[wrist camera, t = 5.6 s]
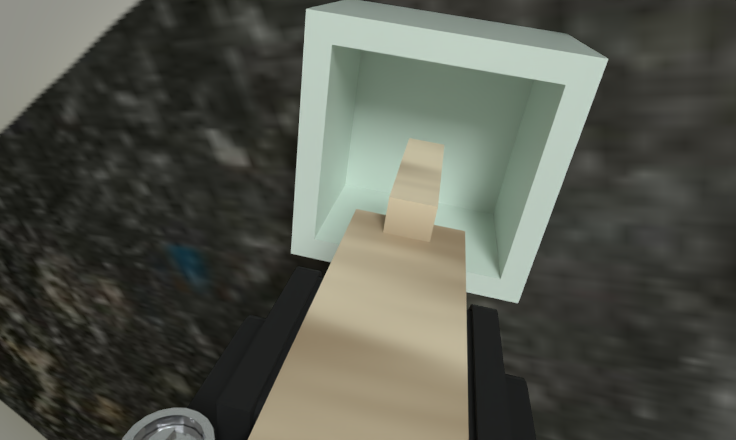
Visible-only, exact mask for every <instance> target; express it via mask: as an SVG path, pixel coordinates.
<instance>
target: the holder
mask: <svg viewBox="0 0 736 440" xmlns="http://www.w3.org/2000/svg"><path fill="white" fill-rule="evenodd" d="M607 61H608V58H606V57H604V56H603V55H601V54H599V53H598V52H596V51H594V50H593V49H591V48H589V47H588V46H586V45H585V44H583V43H581V42H580V41H578V40H576V39H575V38H573V37H571V36H570V35H568V34H565V33H559V32H553V31H546V30H540V29H534V28H528V27H522V26H516V25H509V24H503V23H497V22H491V21H485V20H479V19H472V18H466V17H460V16H454V15H448V14H442V13H435V12H429V11H423V10H417V9H411V8H405V7H398V6H392V5H386V4H380V3H374V2H368V1H361V0H343V1H338V2H334V3H330V4H325V5H321V6H316V7H312V8H308V9H306V21H305V36H304V52H303V68H302V84H301V100H300V116H299V132H298V148H297V164H296V180H295V196H294V211H293V227H292V243H291V254H295V255H300V256H304V257H309V258H313V259H318V260H323V261H327V262H331V261H332V259H333V257H334V255H335V253H336V251H337V249H338V246H339V244H340V242H341V240H342V238H343V236H344V234H345V232H346V229H347V227H348V225H349V223H350V221H351V219H352V217H353V215H354V212H355V210H356V209H360V210H364V211H369V212H374V213H379V214H384V215H386V212H387V207H388V201H389V196H390V193H391V190H392V187H393V184H394V181H395V178H396V176H397V173H398V170H399V167H400V164H401V161H402V158H403V155H404V152H405V149H406V146H407V143H408V140H409V138H412V139H417V140H422V141H427V142H433V143H438V144H443V145H444V154H443V163H442V173H441V183H440V192H439V202H438V209H437V213H436V218H435V222H434V225H438V226H443V227H447V228H452V229H457V230H462V231H465V251H466V292H469V293H473V294H478V295H482V296H487V297H492V298H496V299H501V300H505V301H510V302H514V303H518V302H519V299H520V296H521V294H522V291H523V288H524V286H525V283H526V280H527V277H528V275H529V272H530V269H531V267H532V264H533V261H534V258H535V256H536V253H537V250H538V248H539V245H540V242H541V240H542V237H543V234H544V231H545V229H546V226H547V223H548V221H549V218H550V215H551V213H552V210H553V207H554V204H555V202H556V199H557V196H558V194H559V191H560V188H561V185H562V183H563V180H564V177H565V175H566V172H567V169H568V167H569V164H570V161H571V158H572V156H573V153H574V150H575V148H576V145H577V142H578V139H579V137H580V134H581V131H582V129H583V126H584V123H585V121H586V118H587V115H588V112H589V110H590V107H591V104H592V102H593V99H594V96H595V94H596V91H597V88H598V85H599V83H600V80H601V77H602V75H603V72H604V69H605V66H606V64H607Z"/></svg>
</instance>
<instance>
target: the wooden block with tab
mask: <svg viewBox="0 0 736 440" xmlns="http://www.w3.org/2000/svg"><path fill="white" fill-rule="evenodd" d="M443 154H444V145H443V144H438V143H433V142H427V141H422V140H417V139H412V138H409V140H408V143H407V146H406V149H405V152H404V155H403V158H402V161H401V164H400V167H399V170H398V173H397V176H396V178H395V181H394V184H393V187H392V190H391V193H390V196H389V201H388V207H387V212H386V215H384V214H379V213H374V212H369V211H364V210H360V209H356V210H355V212H354V215H353V217H352V219H351V221H350V223H349V225H348V227H347V229H346V232H345V234H344V236H343V238H342V240H341V242H340V244H339V246H338V249H337V251H336V253H335V255H334V257H333V259H332V261H331V263H330V266H329V268H328V270H327V272H326V274H325V276H324V278H323V280H322V283H321V285H320V287H319V289H318V291H317V293H316V295H315V298H314V300H313V302H312V304H311V306H310V308H309V310H308V312H307V315H306V317H305V319H304V321H303V323H302V325H301V327H300V329H299V332H298V334H297V336H296V338H295V340H294V342H293V344H292V346H291V349H290V351H289V353H288V355H287V357H286V359H285V361H284V363H283V366H282V368H281V370H280V372H279V374H278V376H277V378H276V381H275V383H274V385H273V387H272V389H271V391H270V393H269V395H268V398H267V400H266V402H265V404H264V406H263V408H262V410H261V412H260V415H259V417H258V419H257V421H256V423H255V425H254V427H253V429H252V432H251V434H250V436H249V438H248V440H469V429H468V370H467V311H466V251H465V231H462V230H457V229H452V228H447V227H443V226H438V225H434V222H435V218H436V213H437V209H438V202H439V192H440V183H441V173H442V163H443Z"/></svg>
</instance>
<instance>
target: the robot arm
mask: <svg viewBox="0 0 736 440" xmlns="http://www.w3.org/2000/svg"><path fill="white" fill-rule="evenodd" d="M322 280H323V278H322V272H321V271H318V270H313V269H309V268H304V267H300V266H298V267H297V268H296V269H295V271H294V273H293V274H292V276H291V278H290V279H289V281H288V283H287V284H286V286H285V288H284V290H283V291H282V293H281V295H280V296H279V298H278V300H277V301H276V303H275V305H274V306H273V308H272V310H271V312H270V313H269V315H268V317H267V318H261V317H257V316H253V315H250V316H248V317H247V318H246V319H245V320H244V322H243V323H242V325H241V326H240V328H239V329H238V331H237V332H236V334H235V335H234V337H233V338H232V340H231V342H230V343H229V345H228V346H227V348H226V349H225V351H224V352H223V354H222V355H221V357H220V358H219V360H218V361H217V363H216V364H215V366H214V368H213V369H212V371H211V372H210V374H209V375H208V377H207V378H206V380H205V381H204V383H203V384H202V386H201V387H200V389H199V391H198V392H197V394H196V395H195V397H194V398H193V400H192V401H191V403H190V404H189V406H188V407H187V408H169V409H164V410H159V411H157V412H155V413H152V414H150V415H148V416H146V417H144V418H143V419H141V420H140V421H139V422H137V423H136V424H135V425H133V426H132V427H131V429H130V430H129V431H128V432H127V433H126V435H125V436H124V437H123V439H122V440H248V438H249V436H250V434H251V432H252V429H253V427H254V425H255V423H256V421H257V419H258V417H259V415H260V412H261V410H262V408H263V406H264V404H265V402H266V400H267V398H268V395H269V393H270V391H271V389H272V387H273V385H274V383H275V381H276V378H277V376H278V374H279V372H280V370H281V368H282V366H283V363H284V361H285V359H286V357H287V355H288V353H289V351H290V349H291V346H292V344H293V342H294V340H295V338H296V336H297V334H298V332H299V329H300V327H301V325H302V323H303V321H304V319H305V317H306V315H307V312H308V310H309V308H310V306H311V304H312V302H313V300H314V298H315V295H316V293H317V291H318V289H319V287H320V285H321V283H322ZM466 311H467V370H468V429H469V440H536V435H535V429H534V423H533V417H532V411H531V406H530V400H529V394H528V388H527V384H526V381H525V380H524V378H521V377H516V376H512V375H508V374H505V372H504V363H503V354H502V346H501V337H500V328H499V320H498V312H497V310H496V309H491V308H487V307H482V306H478V305H473V304H472V305H471V306H470V308H469V310H466Z"/></svg>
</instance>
